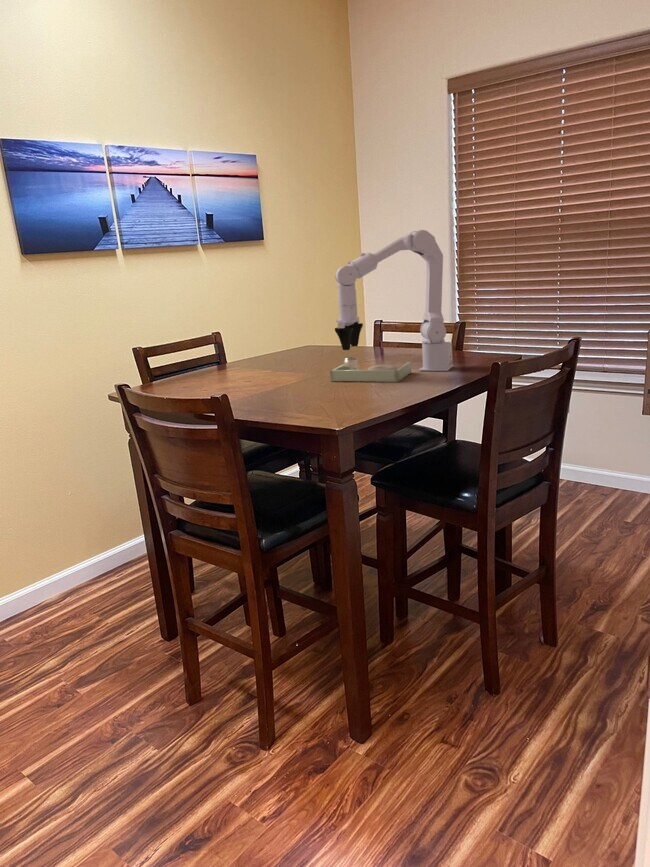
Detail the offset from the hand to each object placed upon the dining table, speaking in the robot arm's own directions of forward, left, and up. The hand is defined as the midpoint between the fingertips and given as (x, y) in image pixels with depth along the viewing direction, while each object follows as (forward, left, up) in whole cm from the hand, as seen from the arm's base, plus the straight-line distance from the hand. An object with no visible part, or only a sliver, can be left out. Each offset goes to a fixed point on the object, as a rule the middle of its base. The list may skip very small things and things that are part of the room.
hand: (350, 348), depth 209 cm
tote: (-7, +1, -9) cm, 12 cm away
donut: (-9, -3, -7) cm, 12 cm away
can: (0, 0, -9) cm, 9 cm away
